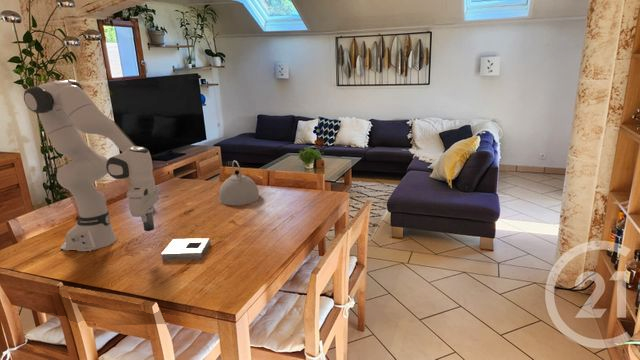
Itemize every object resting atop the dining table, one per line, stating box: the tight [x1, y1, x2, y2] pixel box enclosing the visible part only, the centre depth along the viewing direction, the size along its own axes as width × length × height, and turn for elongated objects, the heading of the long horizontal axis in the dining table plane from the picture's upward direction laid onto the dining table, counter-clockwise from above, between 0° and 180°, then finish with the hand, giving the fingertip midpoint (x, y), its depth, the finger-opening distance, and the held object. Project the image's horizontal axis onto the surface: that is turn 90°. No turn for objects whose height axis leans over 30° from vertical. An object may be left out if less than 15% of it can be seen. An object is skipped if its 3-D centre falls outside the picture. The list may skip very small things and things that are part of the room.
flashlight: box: [142, 206, 155, 232], centre depth 171 cm, size 5×5×9 cm
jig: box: [161, 237, 211, 262], centre depth 175 cm, size 16×14×3 cm
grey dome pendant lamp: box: [218, 160, 260, 206], centre depth 239 cm, size 25×23×22 cm
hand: (147, 218), depth 171 cm, fingers closed on flashlight, 4 cm apart
